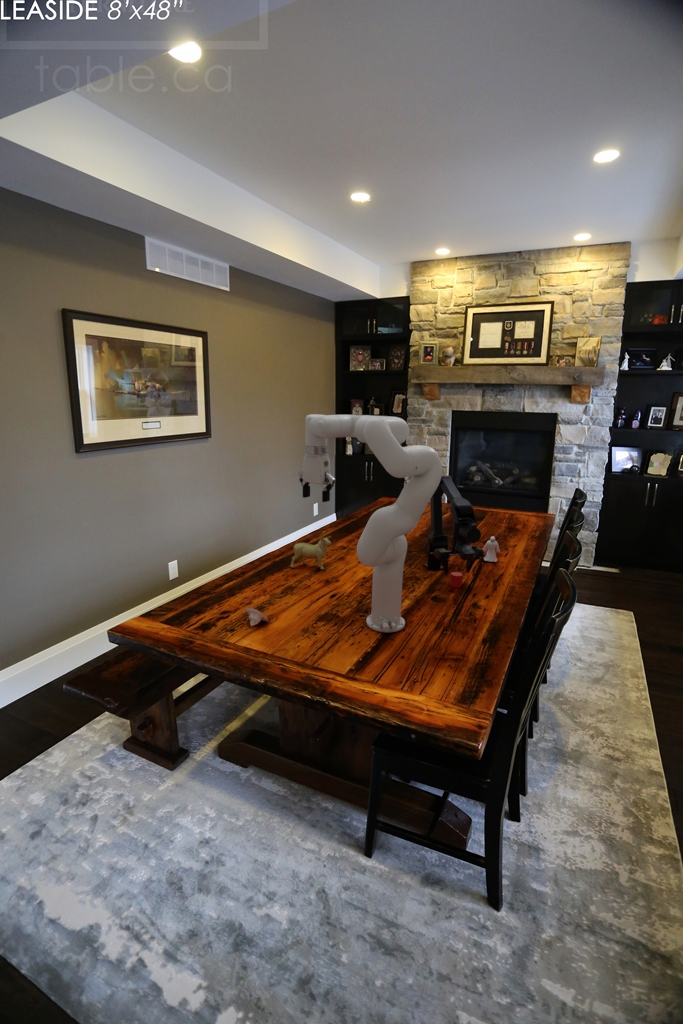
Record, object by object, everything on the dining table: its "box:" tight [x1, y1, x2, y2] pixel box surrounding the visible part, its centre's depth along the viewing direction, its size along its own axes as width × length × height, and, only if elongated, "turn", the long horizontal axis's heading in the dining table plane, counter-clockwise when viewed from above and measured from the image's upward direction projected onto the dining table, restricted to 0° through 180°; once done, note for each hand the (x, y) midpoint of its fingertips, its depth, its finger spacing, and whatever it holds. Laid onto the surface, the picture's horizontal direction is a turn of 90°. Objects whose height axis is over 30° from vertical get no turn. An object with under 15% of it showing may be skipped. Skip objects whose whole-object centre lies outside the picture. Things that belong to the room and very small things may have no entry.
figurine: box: [482, 535, 501, 563], centre depth 223 cm, size 8×8×12 cm
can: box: [450, 571, 463, 588], centre depth 195 cm, size 4×4×5 cm
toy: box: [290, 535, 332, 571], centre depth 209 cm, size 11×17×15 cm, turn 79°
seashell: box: [245, 607, 269, 627], centre depth 160 cm, size 8×5×8 cm
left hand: (316, 499), depth 176 cm, fingers open, 9 cm apart
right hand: (457, 573), depth 195 cm, fingers open, 9 cm apart
